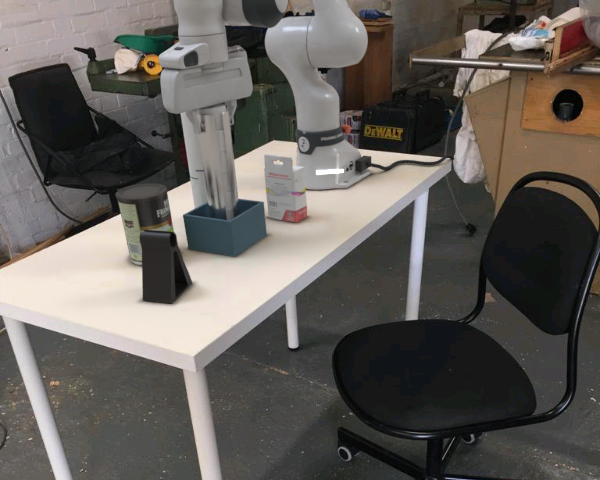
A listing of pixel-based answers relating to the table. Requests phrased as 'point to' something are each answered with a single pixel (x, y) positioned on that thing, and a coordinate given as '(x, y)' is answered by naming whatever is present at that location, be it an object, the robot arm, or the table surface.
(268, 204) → the ink cartridge box
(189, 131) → the cylindrical container
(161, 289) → the phone stand
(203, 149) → the silver tall cylinder
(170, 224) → the coffee can
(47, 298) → the table surface
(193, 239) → the case
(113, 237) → the table surface
